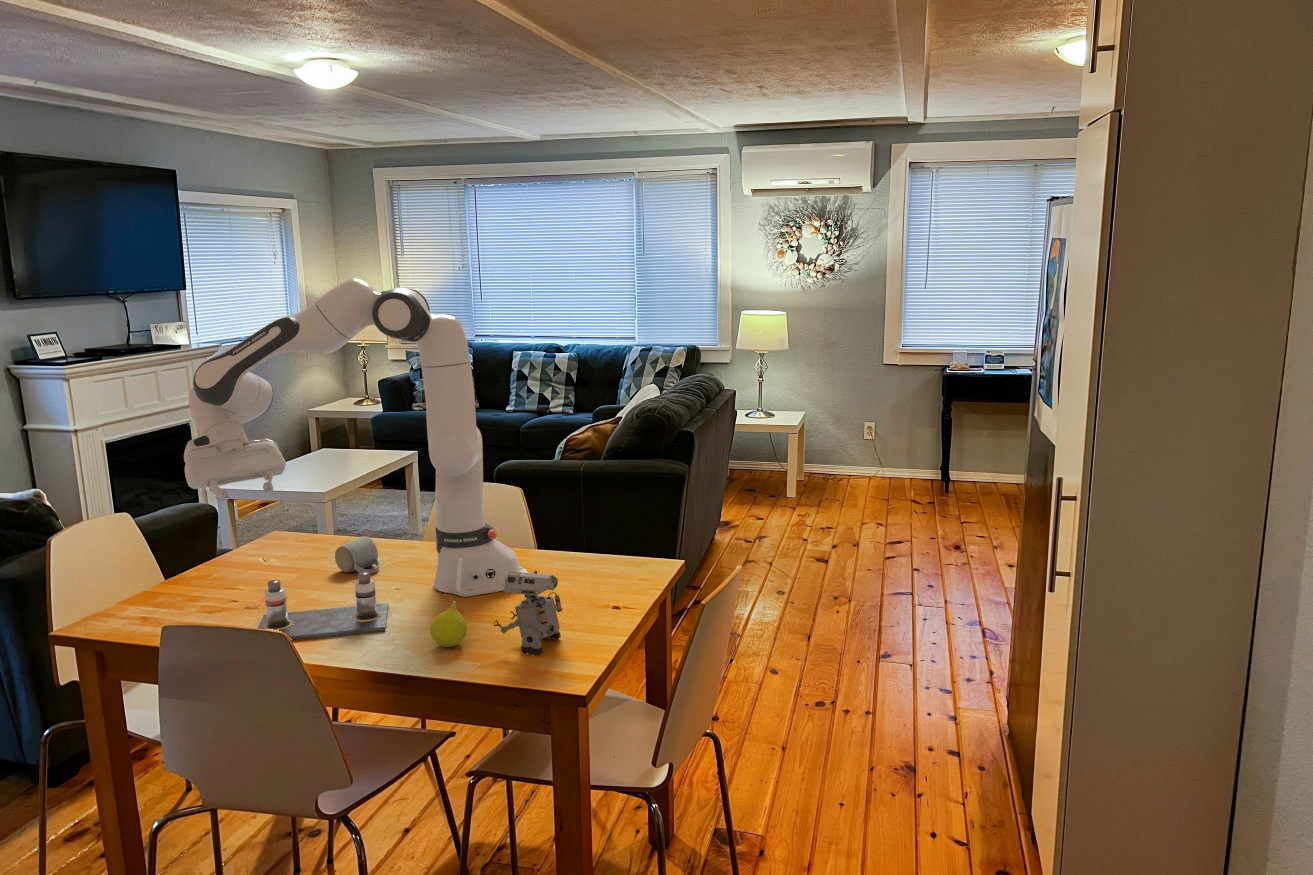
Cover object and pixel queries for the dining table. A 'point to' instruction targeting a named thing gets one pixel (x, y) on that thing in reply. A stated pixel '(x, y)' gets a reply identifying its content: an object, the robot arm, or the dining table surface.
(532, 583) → the figurine
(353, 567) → the ceramic mug
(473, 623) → the dining table surface
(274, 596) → the red-banded small bottle
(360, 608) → the dark-banded small bottle
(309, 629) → the plate
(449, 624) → the ornament
